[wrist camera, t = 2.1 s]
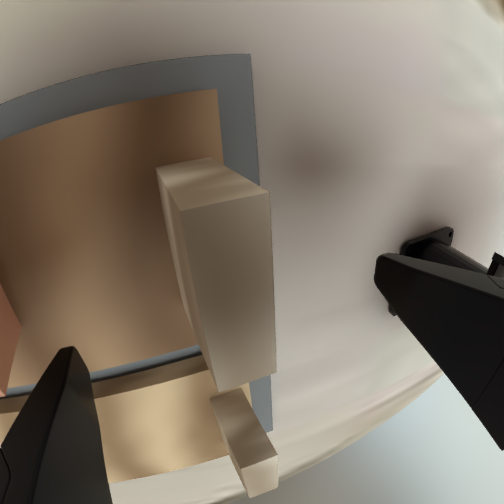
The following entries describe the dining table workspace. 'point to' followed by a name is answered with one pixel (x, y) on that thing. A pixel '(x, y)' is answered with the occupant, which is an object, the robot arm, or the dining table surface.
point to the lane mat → (142, 87)
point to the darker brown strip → (136, 242)
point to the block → (7, 340)
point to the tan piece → (174, 425)
